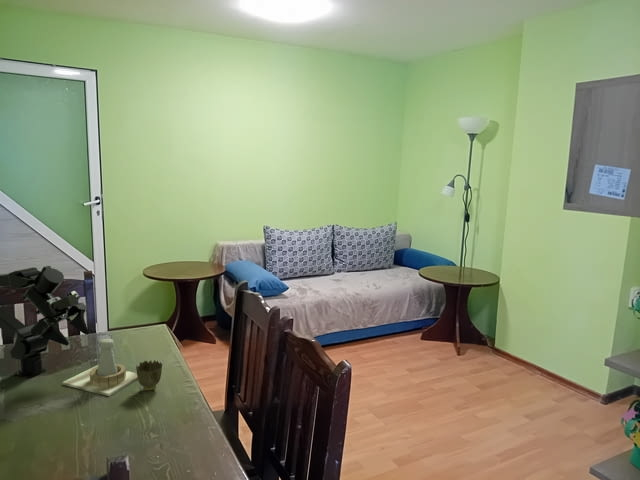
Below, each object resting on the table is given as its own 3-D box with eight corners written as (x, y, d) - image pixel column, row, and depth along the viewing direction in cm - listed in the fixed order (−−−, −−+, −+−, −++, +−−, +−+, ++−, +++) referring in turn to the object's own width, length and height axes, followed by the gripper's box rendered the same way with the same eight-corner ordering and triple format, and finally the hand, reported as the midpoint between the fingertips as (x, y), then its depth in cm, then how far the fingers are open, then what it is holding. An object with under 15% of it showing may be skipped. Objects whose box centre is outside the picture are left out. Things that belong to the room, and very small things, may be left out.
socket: (62, 384, 142) (62, 373, 142) (98, 366, 155) (97, 356, 155) (109, 396, 136) (108, 384, 136) (142, 376, 149) (141, 365, 149)
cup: (154, 397, 137) (153, 371, 136) (131, 393, 138) (130, 368, 137) (167, 385, 144) (166, 361, 143) (145, 382, 145) (145, 358, 144)
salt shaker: (96, 377, 146) (94, 338, 144) (115, 373, 149) (114, 335, 147) (98, 385, 141) (97, 344, 139) (119, 381, 144) (117, 341, 142)
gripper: (37, 293, 132) (73, 333, 132) (80, 278, 151) (112, 314, 151) (14, 317, 135) (50, 357, 135) (59, 299, 153) (91, 334, 153)
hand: (78, 339), depth 143 cm, fingers open, 9 cm apart
